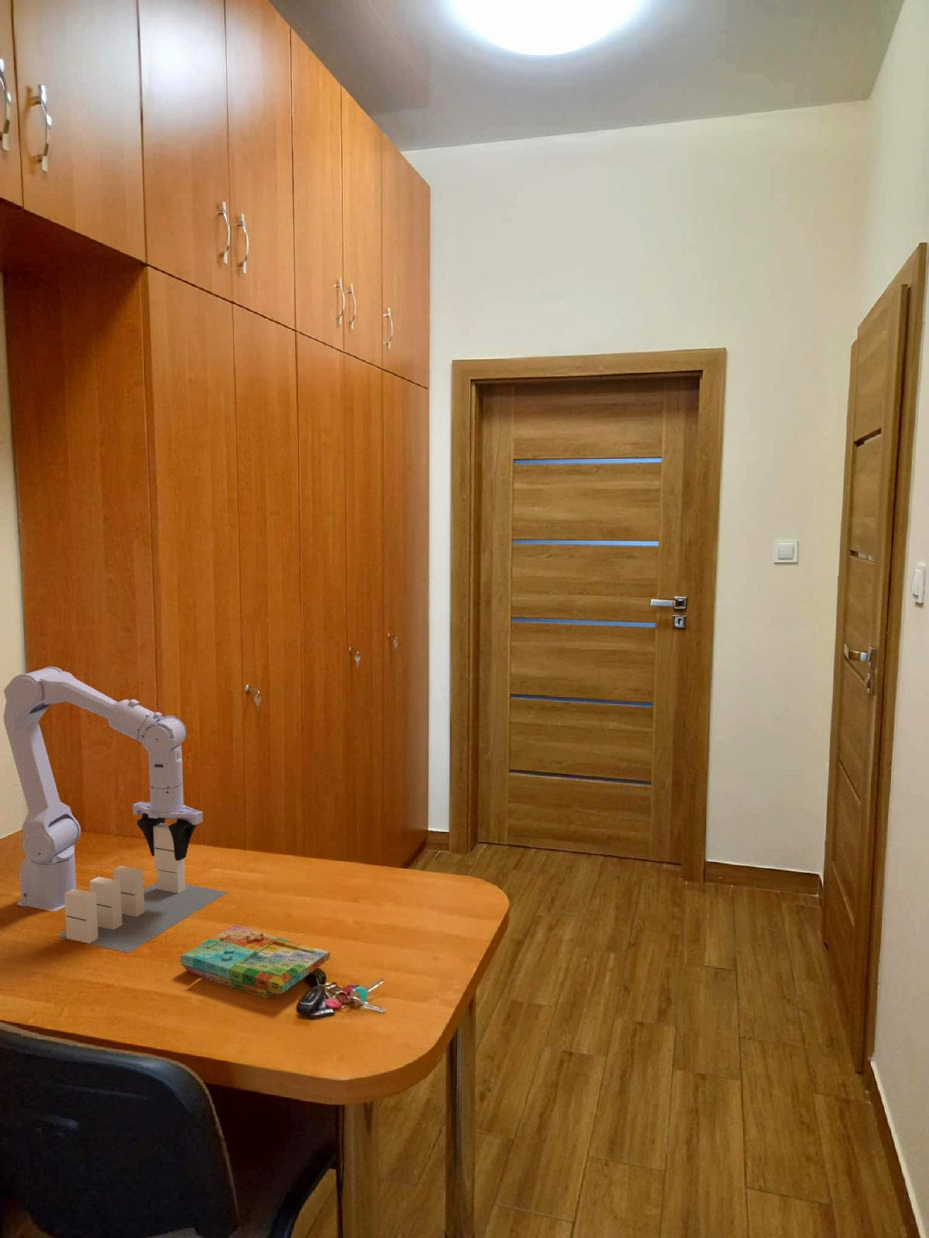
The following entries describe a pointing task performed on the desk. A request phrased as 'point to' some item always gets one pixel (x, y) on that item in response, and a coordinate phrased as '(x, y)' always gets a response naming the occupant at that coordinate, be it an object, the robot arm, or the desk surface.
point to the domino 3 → (130, 890)
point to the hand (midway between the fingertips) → (168, 856)
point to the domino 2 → (107, 902)
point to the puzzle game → (253, 961)
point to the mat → (154, 916)
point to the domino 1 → (81, 915)
